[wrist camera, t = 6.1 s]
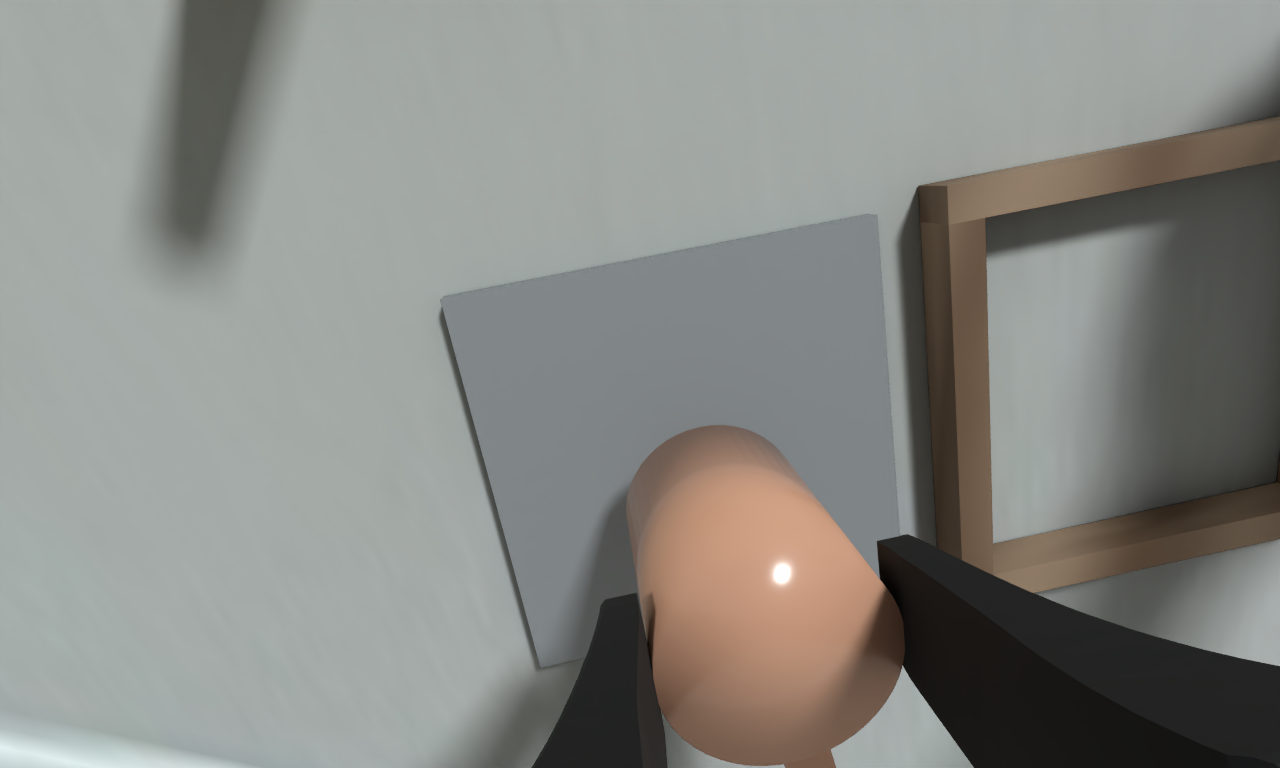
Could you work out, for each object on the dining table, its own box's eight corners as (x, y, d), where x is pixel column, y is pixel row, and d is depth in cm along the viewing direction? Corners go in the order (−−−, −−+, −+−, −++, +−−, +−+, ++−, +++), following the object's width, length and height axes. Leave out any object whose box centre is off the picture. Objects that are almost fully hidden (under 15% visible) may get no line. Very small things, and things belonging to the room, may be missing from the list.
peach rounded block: (602, 460, 17) (617, 602, 11) (773, 400, 17) (876, 512, 11) (677, 658, 19) (724, 865, 13) (831, 605, 19) (944, 789, 13)
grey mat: (867, 213, 19) (877, 215, 18) (895, 578, 22) (903, 588, 22) (444, 296, 18) (440, 299, 18) (541, 655, 22) (540, 667, 21)
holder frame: (1353, 101, 19) (1417, 94, 18) (1300, 502, 23) (1349, 523, 22) (918, 185, 19) (947, 185, 17) (939, 581, 22) (964, 608, 21)
